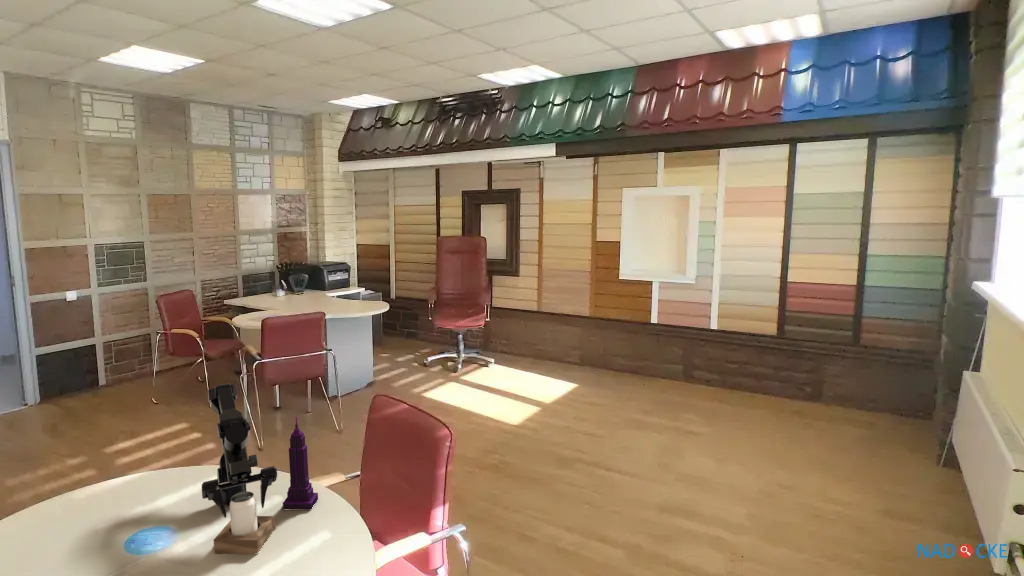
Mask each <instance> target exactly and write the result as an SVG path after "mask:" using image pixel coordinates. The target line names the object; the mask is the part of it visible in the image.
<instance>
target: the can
mask: <svg viewBox="0 0 1024 576" xmlns="http://www.w3.org/2000/svg"><path fill="white" fill-rule="evenodd" d="M257 511H258V509H257V499H256V498H255V495H254V492H252V491H248V490H246V492H240V493H237V494H235V495H233V496H232V497H231V502H230V506H229V514H230V520H231V532H232V535H240V536H246V535H247V534H250V533H252V532H256V531H257V529H258V525H257V516H258V514H257Z"/></svg>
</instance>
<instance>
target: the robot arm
mask: <svg viewBox="0 0 1024 576" xmlns="http://www.w3.org/2000/svg"><path fill="white" fill-rule="evenodd" d="M238 397H239V394H238V387H237V384H233V383H229V382H228V383H222V384H217V385H216V386H214V387H211V388H209V389H208V390H207V401H208V403H210V406H211V410H212V411H214V413H215V414H217V417H218V423H216V431H217V436H218V439H221V440H220V441H221V446H222V455H221V457H220V459H219V464H218V465H219V467H218V468H217V471H216V476H217V478H216V479H212V480H207V481H203V482H202V484H201V496H202V499H203V500H204V499H207V500H208V501H212V502H213V503H214V504H215V505H216V506H217V507H218V509H219V511H220V512H221V514H222V515H223V517H224V518H225V519H226V518H227V510H226V506H228V505H230V502H231V497H232V496H233V495H235V494H237V493H240V492H246V491H247V484H251V483H255V482H256V483H257V482H260V505H261V509H263V508H264V506H265V502H266V494H267V490H268V487H271V486H272V485H273V483H274V482H276V481H277V477H278V469H277V467H276V466H274V465H273V466H269V467H264V468H261V469H260V472H259V473H256V474H252V472H253V471H252V468H254V467H257V466H258V465H259V463H258V457H257V454H251V455H249V456H248V450H247V444H248V438H249V437H248V436H249V431H251V425H250V423H249V421H248V420H247V418H244V416H243V415H244V414H243V412H242V411H241V410H237V405H236V399H238ZM225 504H226V505H225Z"/></svg>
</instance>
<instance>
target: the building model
mask: <svg viewBox="0 0 1024 576" xmlns="http://www.w3.org/2000/svg"><path fill="white" fill-rule="evenodd" d="M294 427H295V428H294V429H293V432H292V433H291V434H290V438H289V446H290V447H289V448H288V459H289V460H288V461H289V476H290V477H289V483H290V484H289V487H288V489H287V492H286V494H287V495H286V498H285V499H284V501H283V502H282V510H283V509H312V507H313V505H314V504H315V503H317V502H318V501H319V493H318V492H314V487H313V486H312V484H313V483H312V482H310V477H309V460H308V459H309V457H308V445H307V444H306V438H305V436H306V435H305V434H304V432H303V431H302V430H301V428H299V423H298V418H297V417H295V425H294ZM317 500H318V501H317ZM315 505H316V504H315ZM315 505H314V506H315ZM313 508H314V507H313ZM312 510H313V509H312Z"/></svg>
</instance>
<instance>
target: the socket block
mask: <svg viewBox="0 0 1024 576" xmlns="http://www.w3.org/2000/svg"><path fill="white" fill-rule="evenodd" d="M257 525H258V529H257V531H256V532H252V533H250V534H247V535H246V536H240V535H232V532H231V519H230V520H229V521H228V523H227V524H226V525H225V526H224V527H223V528H222V529H221V531H220V532H219V533H218V534H217V535H216V536H215V537H214V538H213V550H214V552H213V553H214V554H215V555H219V554H220V555H225V554H226V555H255V554H254V553H258V552H259V551H261V550H262V549H263V547H264V546H265V545H264V543H265V542H266V541H267V542H268V540H269V539H270V538H269V537H271V536H272V535H271V534H273V533H274V532H275V531H276V516H275V515H257ZM274 530H275V531H274ZM273 531H274V532H273ZM272 532H273V533H272ZM270 535H271V536H270ZM268 538H269V539H268ZM267 539H268V540H267ZM267 542H266V543H267ZM266 543H265V544H266ZM263 545H264V546H263ZM262 546H263V547H262ZM261 548H262V549H261ZM260 549H261V550H260ZM259 553H260V552H259ZM259 553H258V554H259Z"/></svg>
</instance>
